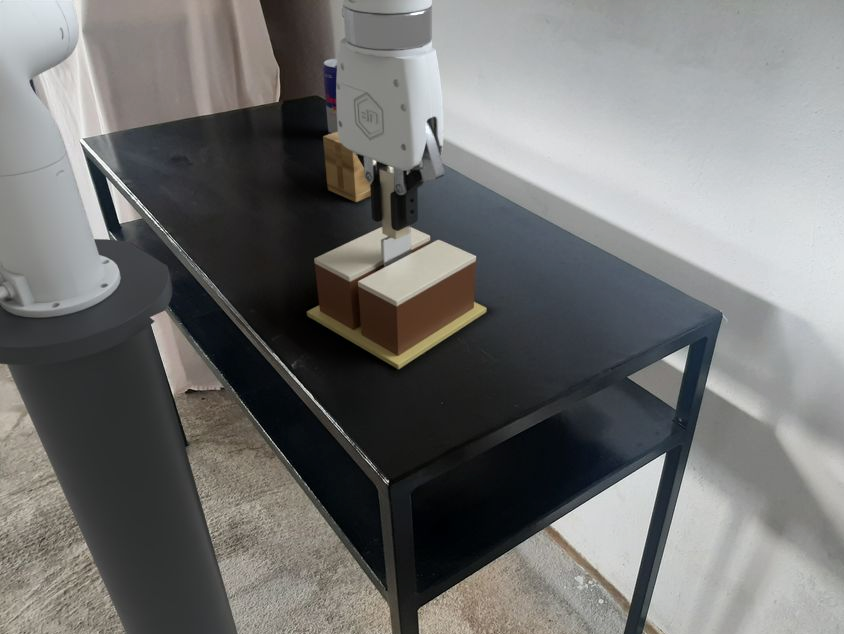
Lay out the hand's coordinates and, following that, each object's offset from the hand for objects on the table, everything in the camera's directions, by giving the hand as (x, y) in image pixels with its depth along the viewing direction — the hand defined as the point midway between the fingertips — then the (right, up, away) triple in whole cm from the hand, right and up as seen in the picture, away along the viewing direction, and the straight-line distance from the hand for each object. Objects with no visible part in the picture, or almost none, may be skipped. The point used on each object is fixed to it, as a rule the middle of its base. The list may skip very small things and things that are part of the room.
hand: (395, 220), depth 74 cm
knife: (0, -8, +6) cm, 11 cm away
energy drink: (-13, +23, +49) cm, 56 cm away
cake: (0, -9, +7) cm, 12 cm away
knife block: (-8, +11, +33) cm, 36 cm away
